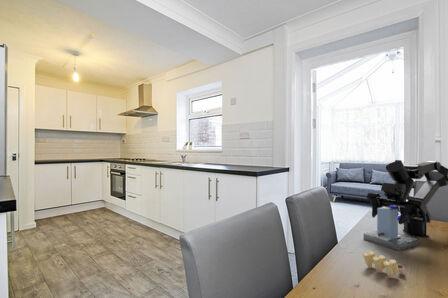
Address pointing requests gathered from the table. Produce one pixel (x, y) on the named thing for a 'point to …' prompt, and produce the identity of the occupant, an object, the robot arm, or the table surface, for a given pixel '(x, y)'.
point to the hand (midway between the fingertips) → (385, 220)
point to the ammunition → (383, 264)
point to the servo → (387, 224)
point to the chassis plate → (396, 244)
